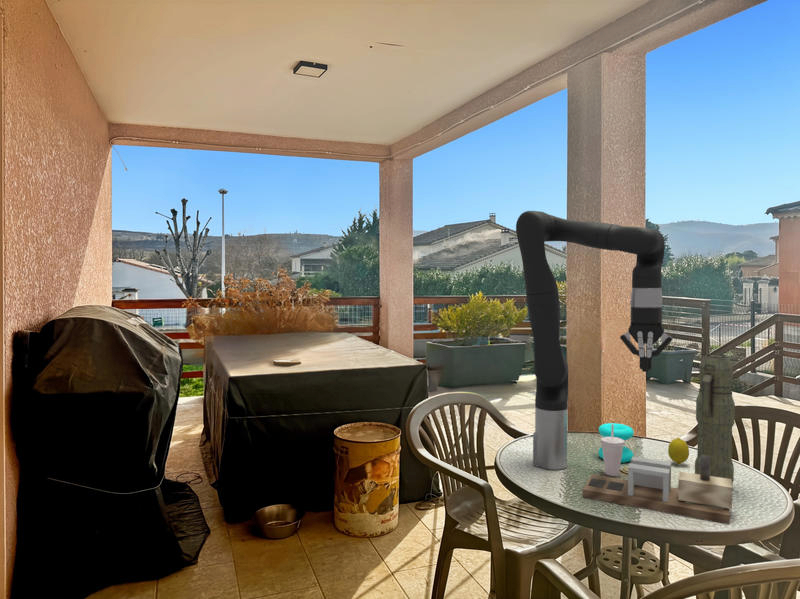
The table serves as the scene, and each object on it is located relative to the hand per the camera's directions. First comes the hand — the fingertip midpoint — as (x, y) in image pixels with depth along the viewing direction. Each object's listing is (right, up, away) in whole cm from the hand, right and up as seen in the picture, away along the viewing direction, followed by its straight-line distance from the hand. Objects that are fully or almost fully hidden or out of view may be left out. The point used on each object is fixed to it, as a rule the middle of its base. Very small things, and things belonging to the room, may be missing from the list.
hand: (645, 371), depth 144 cm
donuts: (+2, -30, +25) cm, 39 cm away
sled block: (+9, -29, -13) cm, 33 cm away
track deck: (-1, -31, -7) cm, 32 cm away
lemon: (+18, -30, +19) cm, 40 cm away
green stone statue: (+19, -31, +1) cm, 36 cm away
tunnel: (-2, -29, -7) cm, 30 cm away
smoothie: (-4, -31, +12) cm, 33 cm away
